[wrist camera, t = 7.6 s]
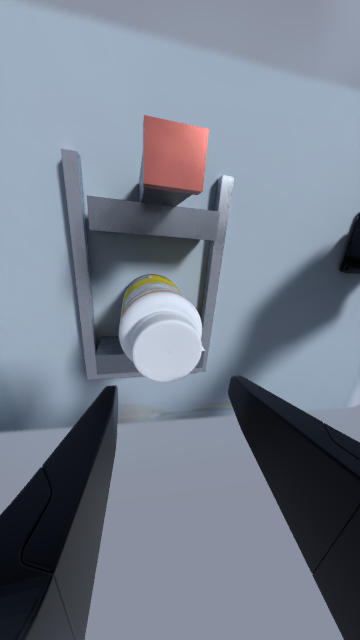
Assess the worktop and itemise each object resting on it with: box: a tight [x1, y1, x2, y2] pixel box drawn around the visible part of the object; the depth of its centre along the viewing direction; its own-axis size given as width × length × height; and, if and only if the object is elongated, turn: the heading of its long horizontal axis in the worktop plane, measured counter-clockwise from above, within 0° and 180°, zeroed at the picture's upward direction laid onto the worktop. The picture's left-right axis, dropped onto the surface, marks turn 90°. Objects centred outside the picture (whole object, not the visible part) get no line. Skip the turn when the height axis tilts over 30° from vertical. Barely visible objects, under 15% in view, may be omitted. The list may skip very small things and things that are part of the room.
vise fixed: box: [61, 149, 234, 380], centre depth 18 cm, size 13×19×4 cm
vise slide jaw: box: [87, 115, 220, 240], centre depth 13 cm, size 9×4×9 cm, turn 85°
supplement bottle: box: [119, 274, 202, 382], centre depth 16 cm, size 6×6×10 cm
